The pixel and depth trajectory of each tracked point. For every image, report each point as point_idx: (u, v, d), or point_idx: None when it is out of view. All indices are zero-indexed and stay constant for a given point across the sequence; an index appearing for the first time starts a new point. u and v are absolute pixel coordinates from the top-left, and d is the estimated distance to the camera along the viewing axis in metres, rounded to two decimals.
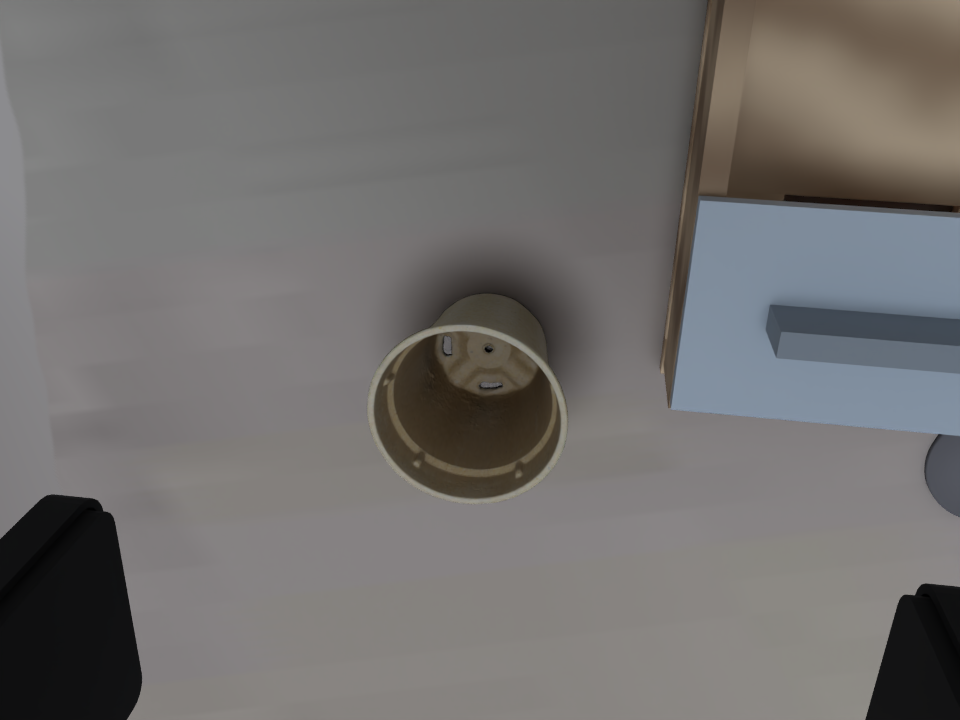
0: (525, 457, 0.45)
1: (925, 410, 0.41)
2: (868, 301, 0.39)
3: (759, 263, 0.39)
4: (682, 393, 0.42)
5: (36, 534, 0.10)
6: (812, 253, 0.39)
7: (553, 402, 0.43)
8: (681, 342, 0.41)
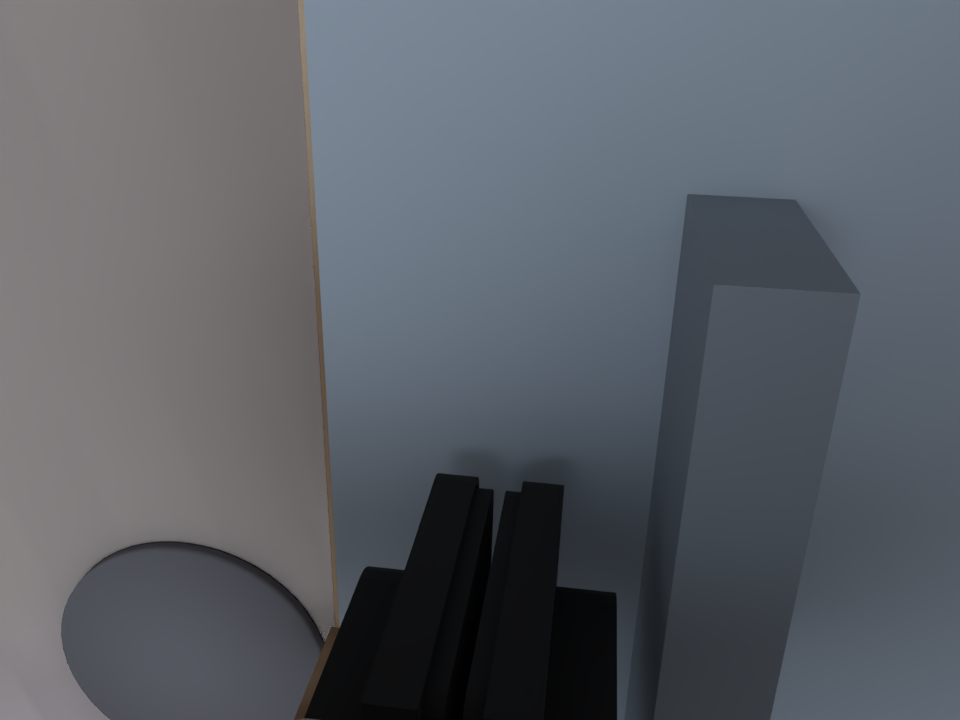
0: None
1: None
2: None
3: None
4: None
5: (454, 509, 0.10)
6: None
7: None
8: None
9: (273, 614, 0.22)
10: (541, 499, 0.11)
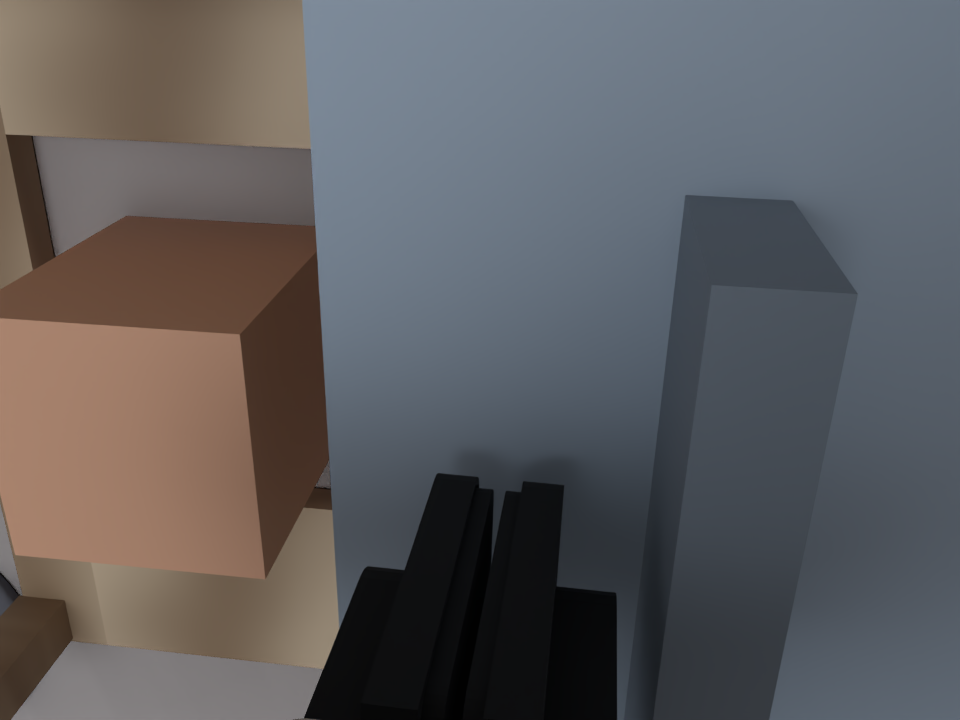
0: None
1: None
2: None
3: None
4: None
5: (453, 509, 0.10)
6: None
7: None
8: None
9: None
10: (541, 499, 0.11)
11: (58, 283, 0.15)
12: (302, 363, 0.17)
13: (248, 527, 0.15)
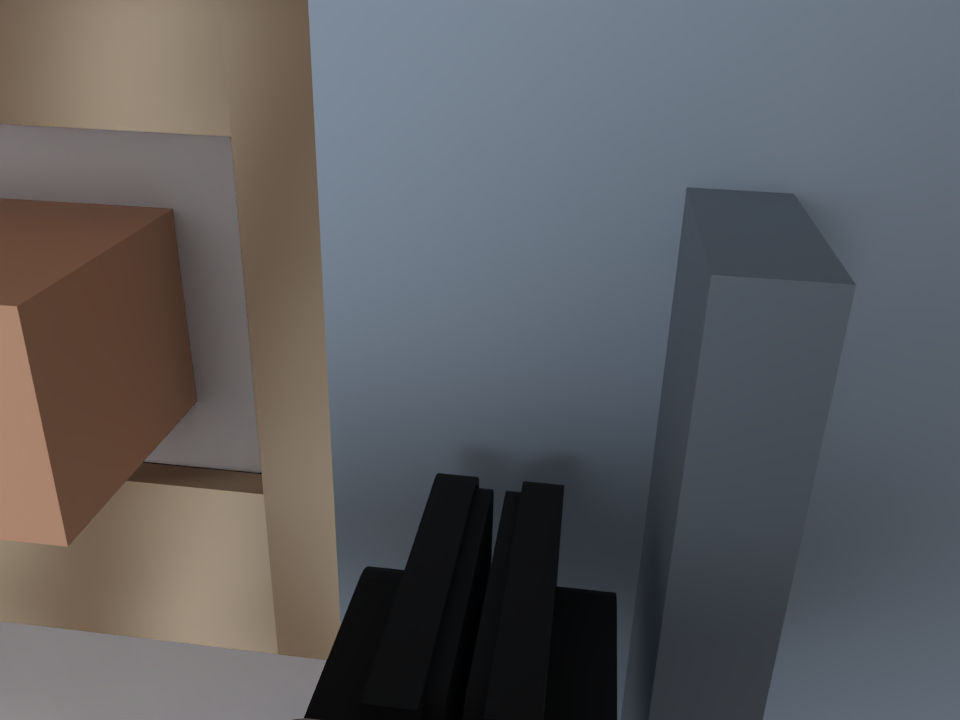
0: None
1: None
2: None
3: None
4: None
5: (453, 509, 0.10)
6: None
7: None
8: None
9: None
10: (540, 499, 0.11)
11: None
12: (120, 339, 0.17)
13: (46, 495, 0.15)
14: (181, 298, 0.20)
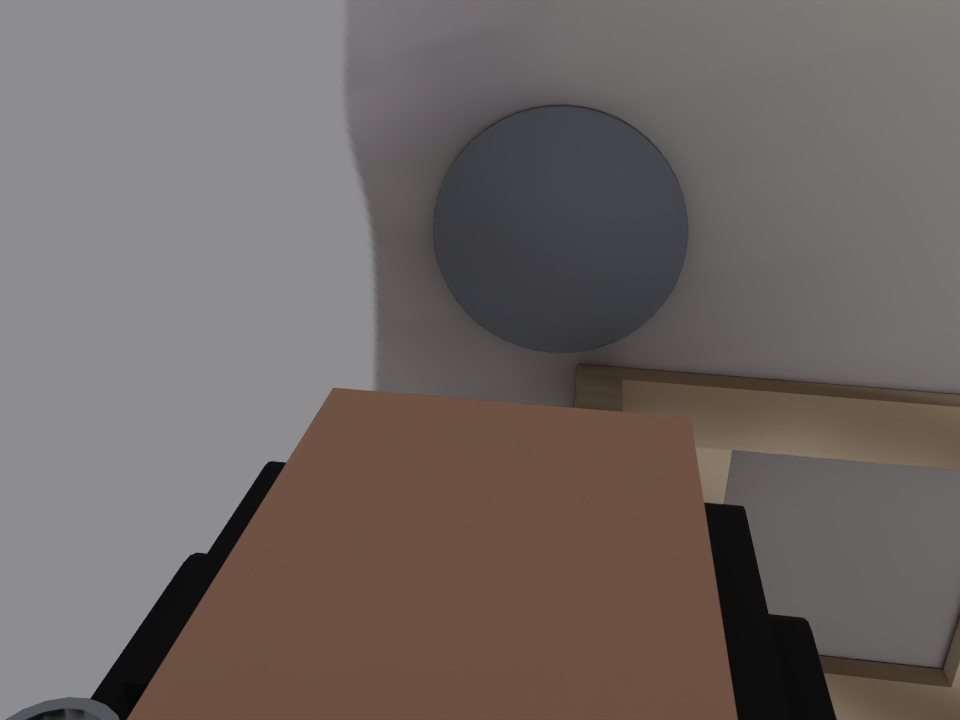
0: None
1: None
2: None
3: None
4: None
5: None
6: None
7: None
8: None
9: (620, 319, 0.26)
10: (726, 522, 0.10)
11: None
12: None
13: None
14: None
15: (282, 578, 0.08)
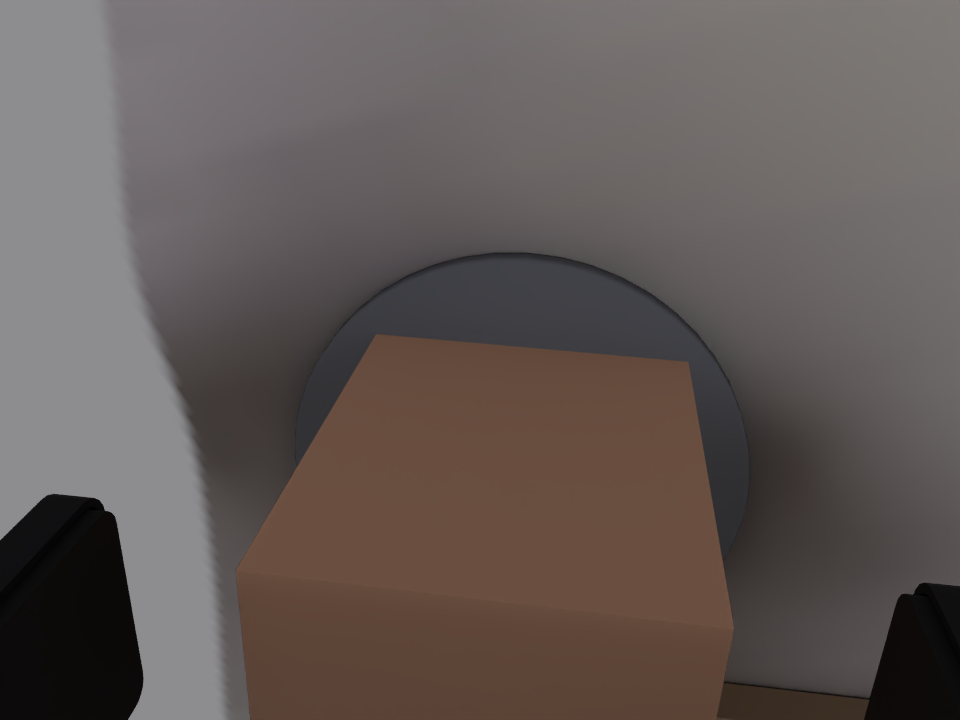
0: None
1: None
2: None
3: None
4: None
5: (38, 533, 0.10)
6: None
7: None
8: None
9: None
10: None
11: None
12: None
13: None
14: None
15: (349, 474, 0.10)
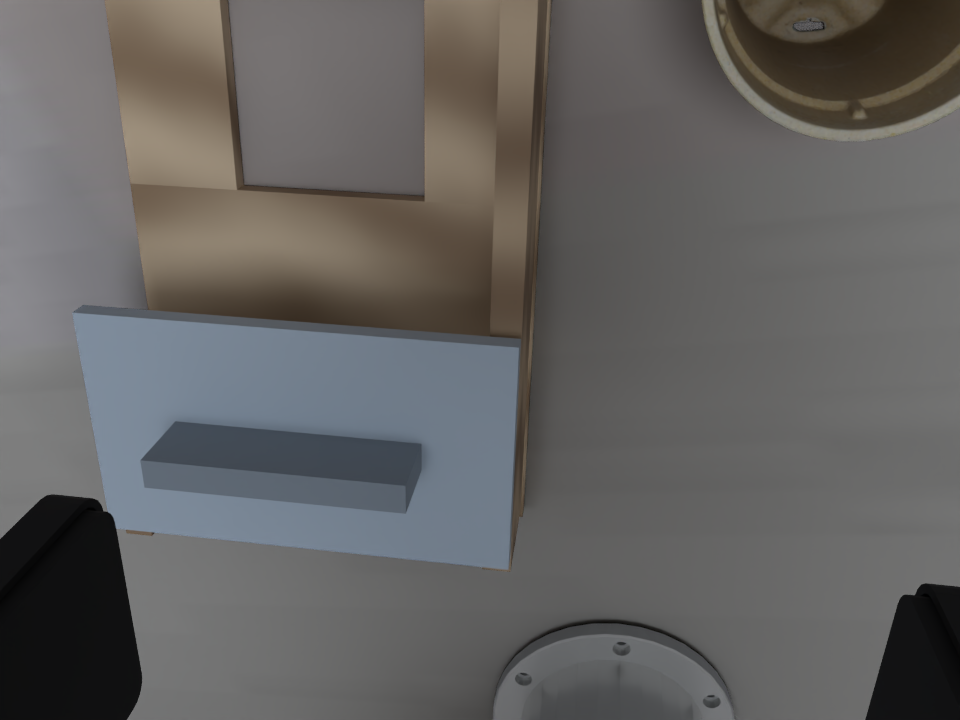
0: None
1: (225, 351, 0.35)
2: None
3: (440, 510, 0.36)
4: (506, 368, 0.33)
5: (36, 534, 0.10)
6: (389, 518, 0.37)
7: None
8: (513, 430, 0.34)
9: None
10: None
11: None
12: None
13: None
14: None
15: None
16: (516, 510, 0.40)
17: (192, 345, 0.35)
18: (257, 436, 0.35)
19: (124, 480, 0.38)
